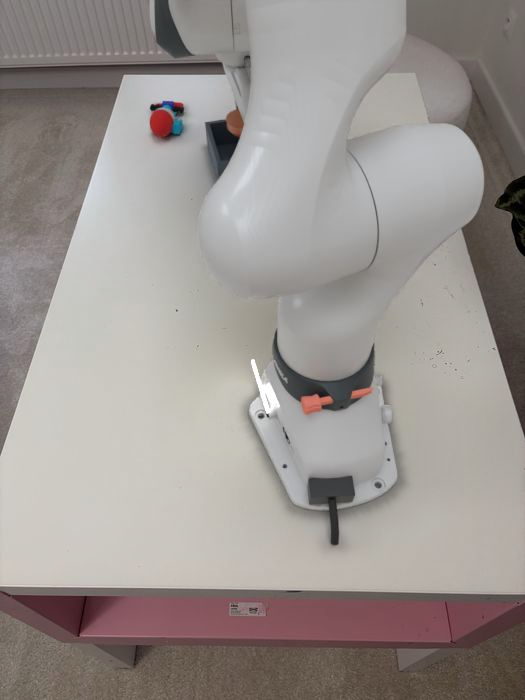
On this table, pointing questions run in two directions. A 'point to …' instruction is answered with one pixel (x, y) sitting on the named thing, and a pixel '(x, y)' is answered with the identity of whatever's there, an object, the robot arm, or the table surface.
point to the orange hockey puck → (235, 123)
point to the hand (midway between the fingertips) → (244, 121)
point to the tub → (220, 145)
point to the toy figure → (166, 118)
